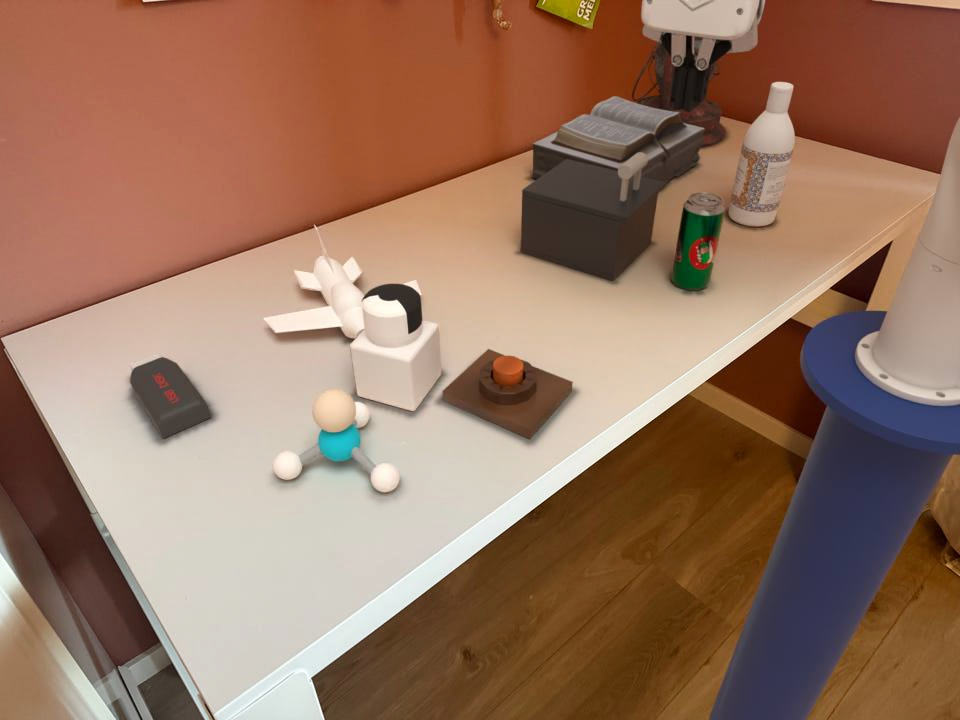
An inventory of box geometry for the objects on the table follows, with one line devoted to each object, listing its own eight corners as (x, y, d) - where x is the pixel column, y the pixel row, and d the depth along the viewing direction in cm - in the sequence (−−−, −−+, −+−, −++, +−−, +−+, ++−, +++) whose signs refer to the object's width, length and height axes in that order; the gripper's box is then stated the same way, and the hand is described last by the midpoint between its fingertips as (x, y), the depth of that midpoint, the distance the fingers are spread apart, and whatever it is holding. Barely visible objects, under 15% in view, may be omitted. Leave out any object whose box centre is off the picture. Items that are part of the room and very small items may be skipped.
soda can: (675, 269, 99) (690, 187, 91) (712, 277, 97) (730, 194, 89) (666, 287, 95) (680, 203, 88) (704, 295, 93) (722, 211, 86)
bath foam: (722, 207, 113) (750, 77, 101) (767, 207, 113) (800, 77, 101) (733, 228, 108) (763, 92, 96) (780, 228, 108) (816, 92, 95)
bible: (720, 172, 124) (732, 115, 118) (609, 217, 111) (616, 156, 105) (622, 134, 139) (628, 82, 133) (514, 169, 126) (515, 113, 120)
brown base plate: (572, 391, 79) (573, 370, 77) (530, 439, 73) (530, 417, 71) (488, 358, 83) (488, 337, 82) (442, 400, 78) (441, 379, 76)
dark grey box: (650, 243, 105) (659, 186, 99) (613, 281, 96) (620, 222, 91) (562, 218, 111) (566, 164, 106) (520, 252, 103) (521, 195, 97)
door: (664, 187, 99) (671, 146, 95) (625, 223, 91) (631, 180, 87) (566, 163, 106) (568, 124, 102) (521, 195, 97) (522, 153, 94)
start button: (528, 374, 77) (529, 361, 76) (512, 390, 75) (513, 377, 74) (503, 364, 78) (503, 351, 77) (487, 380, 76) (487, 367, 75)
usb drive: (162, 439, 73) (155, 419, 72) (126, 381, 81) (118, 362, 79) (212, 417, 76) (205, 398, 74) (172, 363, 83) (165, 344, 82)
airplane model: (282, 372, 82) (270, 318, 77) (249, 290, 96) (236, 240, 91) (443, 328, 88) (441, 275, 84) (390, 256, 102) (385, 208, 98)
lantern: (650, 107, 150) (671, -56, 132) (739, 125, 142) (775, -48, 123) (608, 135, 138) (625, -41, 120) (702, 156, 130) (737, -30, 111)
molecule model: (270, 508, 66) (250, 439, 61) (285, 421, 75) (269, 355, 70) (401, 497, 67) (393, 428, 61) (400, 412, 76) (392, 346, 71)
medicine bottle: (387, 359, 83) (376, 270, 76) (442, 374, 81) (437, 283, 74) (356, 397, 78) (341, 305, 71) (414, 413, 76) (405, 320, 69)
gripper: (621, -115, 60) (601, 104, 72) (803, -107, 54) (750, 133, 65) (656, -122, 65) (632, 84, 77) (827, -116, 59) (774, 109, 70)
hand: (686, 106), depth 71 cm, fingers closed
